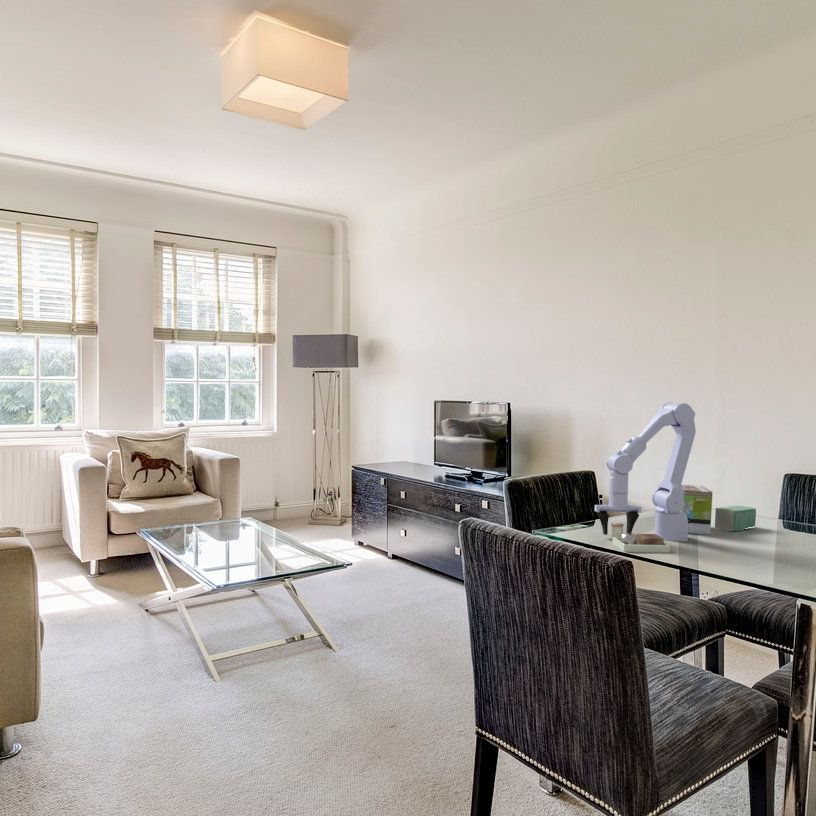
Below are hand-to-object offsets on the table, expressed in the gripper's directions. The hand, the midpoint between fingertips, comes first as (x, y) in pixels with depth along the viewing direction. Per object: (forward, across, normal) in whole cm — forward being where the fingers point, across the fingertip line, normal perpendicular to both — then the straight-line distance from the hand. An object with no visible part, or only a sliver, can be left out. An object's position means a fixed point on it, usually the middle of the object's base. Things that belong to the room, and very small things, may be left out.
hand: (617, 534), depth 217 cm
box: (+2, -49, -20) cm, 53 cm away
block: (+1, -6, +12) cm, 13 cm away
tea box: (+2, -32, -17) cm, 36 cm away
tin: (+1, +1, +12) cm, 12 cm away
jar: (+2, 0, 0) cm, 2 cm away
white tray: (+2, -3, +12) cm, 12 cm away
